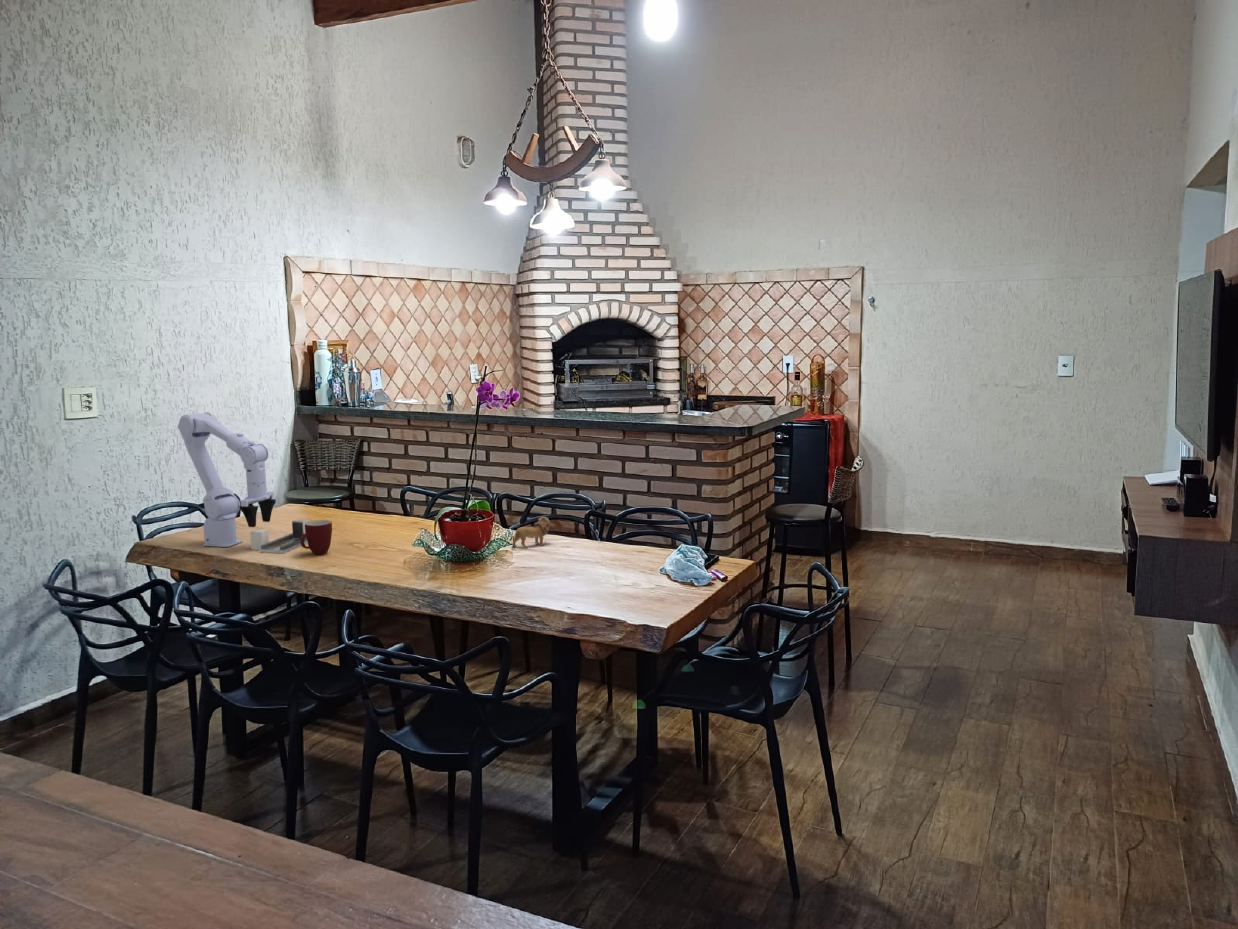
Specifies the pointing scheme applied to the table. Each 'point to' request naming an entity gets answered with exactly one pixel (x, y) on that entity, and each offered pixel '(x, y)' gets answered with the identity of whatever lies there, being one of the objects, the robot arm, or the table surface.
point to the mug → (317, 536)
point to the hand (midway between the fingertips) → (259, 524)
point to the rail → (287, 539)
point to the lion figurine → (532, 532)
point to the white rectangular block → (258, 538)
